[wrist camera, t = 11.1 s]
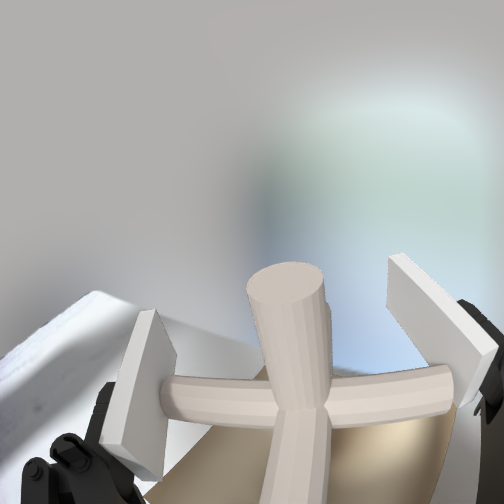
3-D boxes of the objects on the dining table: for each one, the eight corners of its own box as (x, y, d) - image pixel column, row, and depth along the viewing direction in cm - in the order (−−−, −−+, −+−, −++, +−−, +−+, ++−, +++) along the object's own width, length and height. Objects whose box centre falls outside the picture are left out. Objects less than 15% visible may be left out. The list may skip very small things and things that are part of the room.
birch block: (193, 526, 14) (142, 496, 11) (285, 415, 23) (272, 356, 20) (351, 599, 7) (366, 612, 4) (426, 455, 16) (458, 400, 13)
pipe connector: (403, 373, 14) (421, 197, 10) (421, 541, 6) (580, 426, 1) (232, 381, 17) (178, 225, 13) (182, 535, 8) (12, 415, 4)
